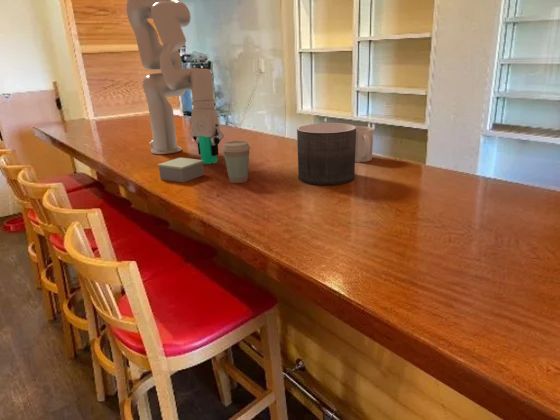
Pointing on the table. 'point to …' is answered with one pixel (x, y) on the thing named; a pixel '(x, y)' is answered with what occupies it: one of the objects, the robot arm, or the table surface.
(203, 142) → the candle
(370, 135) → the mug
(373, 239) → the table surface
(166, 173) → the pedestal
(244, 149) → the coffee cup
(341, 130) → the planter
